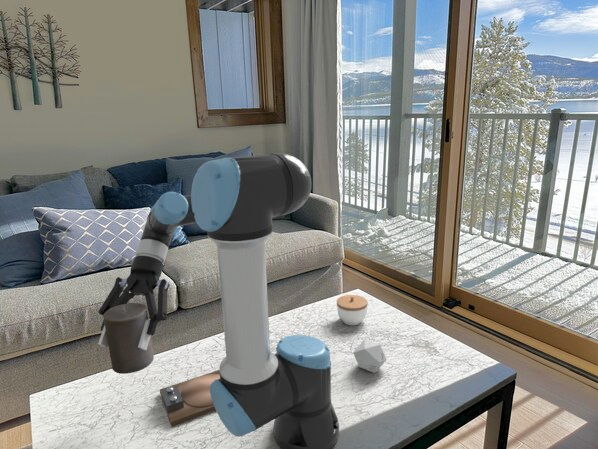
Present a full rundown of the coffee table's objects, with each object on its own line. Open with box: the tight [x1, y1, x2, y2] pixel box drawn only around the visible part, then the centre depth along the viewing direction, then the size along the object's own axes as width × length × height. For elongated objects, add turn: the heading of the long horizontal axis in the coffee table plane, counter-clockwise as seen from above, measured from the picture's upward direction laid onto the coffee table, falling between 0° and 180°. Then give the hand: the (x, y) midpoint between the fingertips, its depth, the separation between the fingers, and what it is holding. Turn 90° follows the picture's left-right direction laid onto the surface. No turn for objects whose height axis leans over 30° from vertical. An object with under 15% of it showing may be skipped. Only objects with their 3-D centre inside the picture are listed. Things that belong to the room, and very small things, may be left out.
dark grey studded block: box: [161, 385, 184, 413], centre depth 109 cm, size 7×22×3 cm, turn 119°
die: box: [353, 339, 387, 374], centre depth 118 cm, size 8×9×10 cm
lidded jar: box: [336, 294, 369, 326], centre depth 144 cm, size 11×11×9 cm
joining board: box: [159, 369, 220, 428], centre depth 109 cm, size 14×22×2 cm, turn 119°
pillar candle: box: [102, 302, 155, 375], centre depth 99 cm, size 10×10×15 cm
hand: (122, 347), depth 96 cm, fingers closed on pillar candle, 10 cm apart
